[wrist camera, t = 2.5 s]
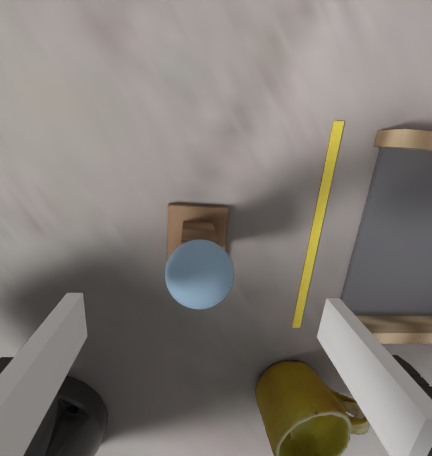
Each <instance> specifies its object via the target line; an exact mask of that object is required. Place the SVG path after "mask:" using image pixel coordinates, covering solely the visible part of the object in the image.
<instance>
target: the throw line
mask: <svg viewBox="0 0 432 456" xmlns="http://www.w3.org/2000/svg"><path fill="white" fill-rule="evenodd" d="M343 126H344V121H334V122H333V127H332V132H331V137H330V142H329V147H328V151H327V156H326V161H325V166H324V171H323V176H322V181H321V186H320V191H319V196H318V201H317V206H316V211H315V215H314V220H313V225H312V230H311V235H310V240H309V245H308V250H307V255H306V260H305V265H304V270H303V275H302V279H301V284H300V289H299V294H298V299H297V304H296V309H295V314H294V319H293V324H292V328H300V326H301V321H302V316H303V312H304V307H305V302H306V298H307V293H308V288H309V284H310V279H311V274H312V270H313V265H314V261H315V256H316V251H317V247H318V242H319V237H320V233H321V228H322V223H323V219H324V214H325V209H326V205H327V200H328V196H329V191H330V186H331V182H332V177H333V172H334V168H335V163H336V158H337V154H338V149H339V144H340V140H341V135H342V131H343Z"/></svg>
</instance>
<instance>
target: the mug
mask: <svg viewBox="0 0 432 456" xmlns="http://www.w3.org/2000/svg"><path fill="white" fill-rule="evenodd" d="M256 399H257V404H258V407H259V410H260V413H261V415H262V419H263V422H264V425H265V429H266V433H267V436H268V439H269V442H270V445H271V448H272V451H273V454H274V456H340V455H341V454H342V453H343V452H344V451H345V449H346V448H347V445H348V442H349V440H350V434H357V435H360V434H364V433H366V432H367V431H368V429H369V424H370V423H369V422H368V420H367V418H366V417H365V415H364V413H363V412H362V410H361V408H360V407H359V405H358V404H357V402H356V401H355V400H353V399H351V398H349V397H347V396H344V395H341V394H339V393H337V392H334V391H333V390H331V389H330V388H329V387H328V386H327V385H326V384H325V383H324V382H323V381H322V380H321V379H320V378H319V376H318V375H317V374H316V372H315V371H314V370H313V369H312V368H311V367H310V366H308V365H307V364H305V363H303V362H300V361H298V362H292V361H282V362H279V363H277V364H274V365H272V366H271V367H269V368H268V369H267V370H266V371H265V372H264V374H263V375H262V376H261V377H260V379H259V380H258V382H257V385H256ZM346 411H347V412H349V413H351V414H352V415H354V416H355V417H351V416H349V415H348V414H347V413H346Z"/></svg>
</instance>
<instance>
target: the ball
mask: <svg viewBox="0 0 432 456" xmlns="http://www.w3.org/2000/svg"><path fill="white" fill-rule="evenodd" d="M165 280H166V285H167V288H168V290H169V292H170V294H171V295H172V296H173V298H174V299H175V300H176V301H177V302H179V303H180V304H182V305H183V306H186V307H188V308H191V309H207V308H210V307H213V306H215V305H217V304H218V303H220V302H221V301H222V300H223V299H224V298H225V297H226V296H227V294H228V293H229V291H230V289H231V287H232V284H233V280H234V268H233V264H232V261H231V259H230V257H229V255H228V254H227V252H226V251H225V250H224V249H223V248H222V247H221V246H219V245H218V244H216V243H214V242H211V241H208V240H201V239H200V240H192V241H188V242H186V243H184V244H182V245H180V246H179V247H178V248H177V249H176V250H175V251H174V252H173V253H172V254H171V256H170V258H169V259H168V262H167V265H166V269H165Z"/></svg>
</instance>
